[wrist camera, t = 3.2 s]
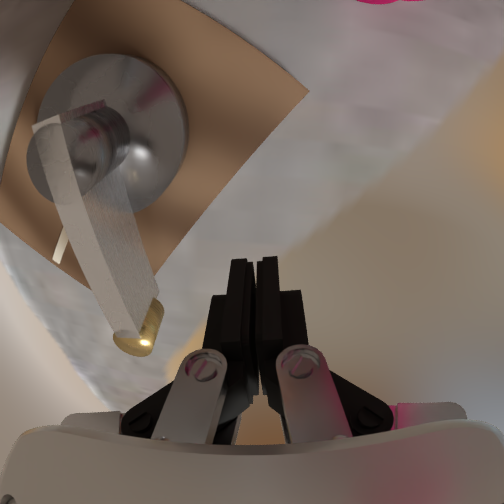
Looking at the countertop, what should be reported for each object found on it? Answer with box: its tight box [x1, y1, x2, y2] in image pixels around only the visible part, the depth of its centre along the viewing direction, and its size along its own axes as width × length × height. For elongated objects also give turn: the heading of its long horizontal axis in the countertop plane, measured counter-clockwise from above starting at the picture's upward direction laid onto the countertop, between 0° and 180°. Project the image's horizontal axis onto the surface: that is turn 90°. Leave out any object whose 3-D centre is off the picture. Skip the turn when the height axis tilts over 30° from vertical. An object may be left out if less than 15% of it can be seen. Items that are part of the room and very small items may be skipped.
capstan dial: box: [26, 54, 189, 357], centre depth 14 cm, size 16×9×5 cm, turn 6°
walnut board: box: [0, 0, 309, 290], centre depth 17 cm, size 20×14×2 cm
